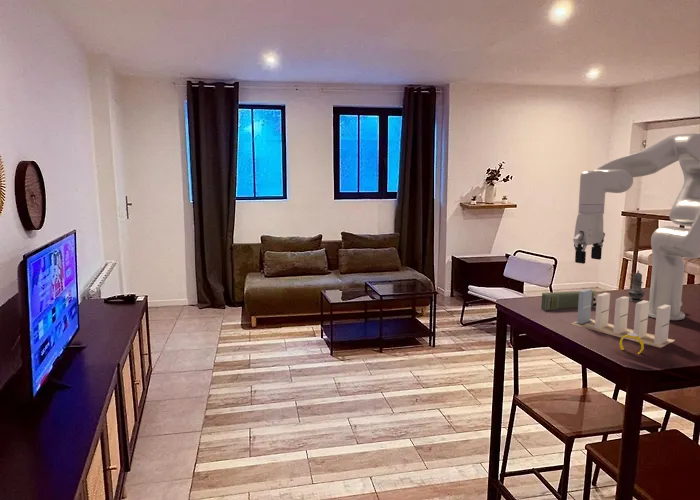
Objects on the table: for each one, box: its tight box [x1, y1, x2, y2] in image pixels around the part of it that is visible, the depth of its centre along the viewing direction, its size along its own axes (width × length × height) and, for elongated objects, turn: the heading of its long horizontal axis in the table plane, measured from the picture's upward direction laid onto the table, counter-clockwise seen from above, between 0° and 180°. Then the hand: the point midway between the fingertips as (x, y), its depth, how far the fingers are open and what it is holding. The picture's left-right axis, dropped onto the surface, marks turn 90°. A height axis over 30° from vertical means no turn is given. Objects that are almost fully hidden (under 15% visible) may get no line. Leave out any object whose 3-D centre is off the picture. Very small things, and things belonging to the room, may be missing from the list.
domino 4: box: [633, 299, 649, 338], centre depth 153 cm, size 2×5×11 cm, turn 126°
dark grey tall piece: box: [627, 270, 646, 303], centre depth 195 cm, size 6×6×12 cm
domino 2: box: [594, 292, 611, 329], centre depth 163 cm, size 2×5×11 cm, turn 126°
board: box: [570, 318, 676, 349], centre depth 159 cm, size 10×28×1 cm, turn 36°
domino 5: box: [654, 305, 671, 345], centre depth 149 cm, size 2×5×11 cm, turn 126°
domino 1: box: [577, 288, 593, 324], centre depth 168 cm, size 2×5×11 cm, turn 126°
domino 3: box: [613, 296, 630, 334], centre depth 158 cm, size 2×5×11 cm, turn 126°
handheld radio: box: [540, 289, 597, 312], centre depth 187 cm, size 7×3×25 cm
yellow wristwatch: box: [619, 333, 645, 355], centre depth 143 cm, size 6×3×6 cm, turn 45°
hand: (588, 260), depth 165 cm, fingers open, 9 cm apart
